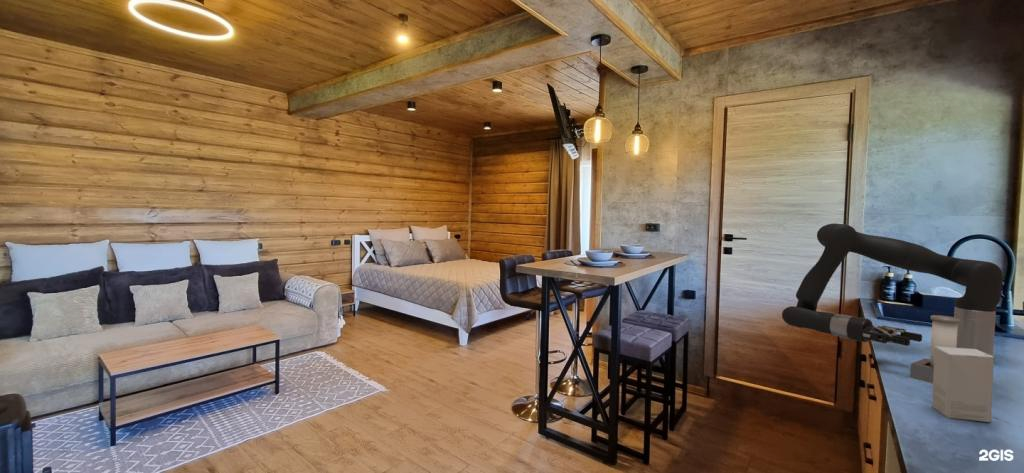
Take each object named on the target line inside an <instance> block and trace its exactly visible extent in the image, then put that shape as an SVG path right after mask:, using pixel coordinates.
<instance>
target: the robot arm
mask: <svg viewBox="0 0 1024 473" xmlns="http://www.w3.org/2000/svg"><path fill="white" fill-rule="evenodd" d="M816 239H817V241H818V243H819V244H820V245H822V246H823V247H824V249H823V251H822V254H821V256H820V257H819V259H818V261H817V262H816V263H815V264H814V265H813V266H812V267H811V269H810V270H809V271H808V272H807V273H806V274H805V276H804V277H803V279H802V281H801V282H800V284H799V286H798V289H797V291H796V294H795V297H796V299H797V303H796V306H795V305H793V306H788V307H785V308H784V309H783V311H782V312H781V318H782V320H783V321H784V323H786V324H787V325H789V326H792V327H796V328H799V329H800V328H801V329H808V330H809V329H810V330H814V331H818V332H820V333H822V334H828V335H834V336H837V337H838V338H843V339H848V340H853V341H857V342H863V343H868V342H869V341H873V342H876V343H882V344H887V343H888V344H896V345H901V346H906V347H908V346H910V344H911V341H913V342H918V343H920V342H922V341H923V335H922V334H920V333H915V332H911V331H907V329H905V328H898V327H892V326H887V325H877V326H874V324H873V322H872V320H871V319H869V318H866V317H865V318H864V317H859V316H855V315H854V316H852V315H847V314H838V313H832V312H825V311H817V308H818V303H819V301H820V299H821V298H822V295H823V293H824V292H825V290H826V287H827V285H828V283H830V282H829V281H830V280H831V279H832V277H833V275H834V273H836V271H837V269H838V268H839V266H840V265H841V264H842V262H843V261H844V259H845V257H847V255H848V254H849V253H854V254H857V255H860V256H863V257H865V258H868V259H870V260H873V261H876V262H880V263H881V264H885V265H888V266H892V267H895V268H898V269H903V270H906V271H911V272H915V273H921V274H922V273H923V274H929V275H933V276H936V277H939V278H942V279H944V280H947V281H949V282H953V283H955V284H957V285H960V286H962V287H965V292H964V294H963V295H962V296H961V297H960V296H959V297H957V298H955V300H954V311H953V313H954V314H953V317H955V318H958V319H960V323H959V324H958V328H957V345H956V348H967V349H977V350H979V351H981V352H984V353H986V354H989V355H991V356H993V357H994V345H995V344H994V343H995V333H996V328H995V327H996V316H997V315H996V312H997V306H998V304H1000V301H1001V299H1002V298H1001V296H1002V291H1003V284H1004V274H1003V271H1002V268H1000V266H999V265H997V264H995V263H993V262H990V261H984V260H977V259H976V260H975V259H969V258H968V259H967V258H959V257H953V256H949V255H943V254H940V253H938V252H936V251H934V250H931V249H929V248H927V247H926V246H923V245H920V244H917V243H914V242H909V241H906V240H902V239H897V238H891V237H886V236H879V235H872V234H866V233H863V232H860V231H856V229H855V228H854V227H853V226H851V225H848V224H844V223H837V222H836V223H828V224H825V225H823V226H821V227H820V228H819V229H818V231H817V233H816ZM898 333H900V334H898Z"/></svg>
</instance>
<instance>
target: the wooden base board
mask: <svg viewBox="0 0 1024 473" xmlns="http://www.w3.org/2000/svg"><path fill="white" fill-rule="evenodd" d="M933 374H934V367H930V358H926V357H924V358H922V359H920V360H917V361H914V362H912V363H910V374H909V376H908V378H909V379H913V380H916V381H921V382H924V383H928V384H932V385H933Z"/></svg>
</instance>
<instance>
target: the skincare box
mask: <svg viewBox="0 0 1024 473" xmlns="http://www.w3.org/2000/svg"><path fill="white" fill-rule="evenodd" d="M995 358H996V357H995V356H994V355H993V356H991V355H989V354H986V353H984V352H981V351H979V350H977V349H967V348H951V347H937V346H935V351H934V374H933V384H932V401H931V403H932V404H931V407H932V408H933V409H935V410H936V411H938V412H939V413H940V414H941V415H943V416H945V417H946V418H948V419H957V420H965V421H966V420H967V421H976V422H985V423H991V422H992V408H993V385H994V384H993V383H994V370H995V369H994V367H995Z"/></svg>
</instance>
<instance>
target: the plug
mask: <svg viewBox="0 0 1024 473" xmlns="http://www.w3.org/2000/svg"><path fill="white" fill-rule="evenodd" d="M930 320H931V321H932V324H931V338H930V341H931V342H930V358H929V359H930V367H934V351H935V346H937V347H951V348H956V345H957V328H958V324H959V323H960V319H958V318H955V317H954V316H947V315H941V314H939V315H937V314H933V315H930Z"/></svg>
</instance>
